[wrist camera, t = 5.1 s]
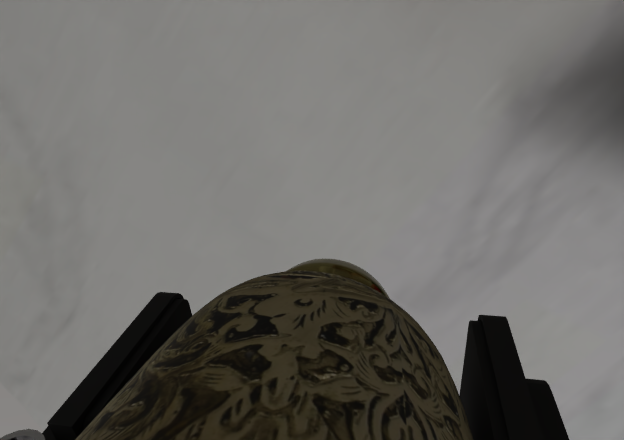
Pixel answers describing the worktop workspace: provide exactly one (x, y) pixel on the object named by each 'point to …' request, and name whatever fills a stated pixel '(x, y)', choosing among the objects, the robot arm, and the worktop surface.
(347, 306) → the olive textured bell shape
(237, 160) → the worktop surface
